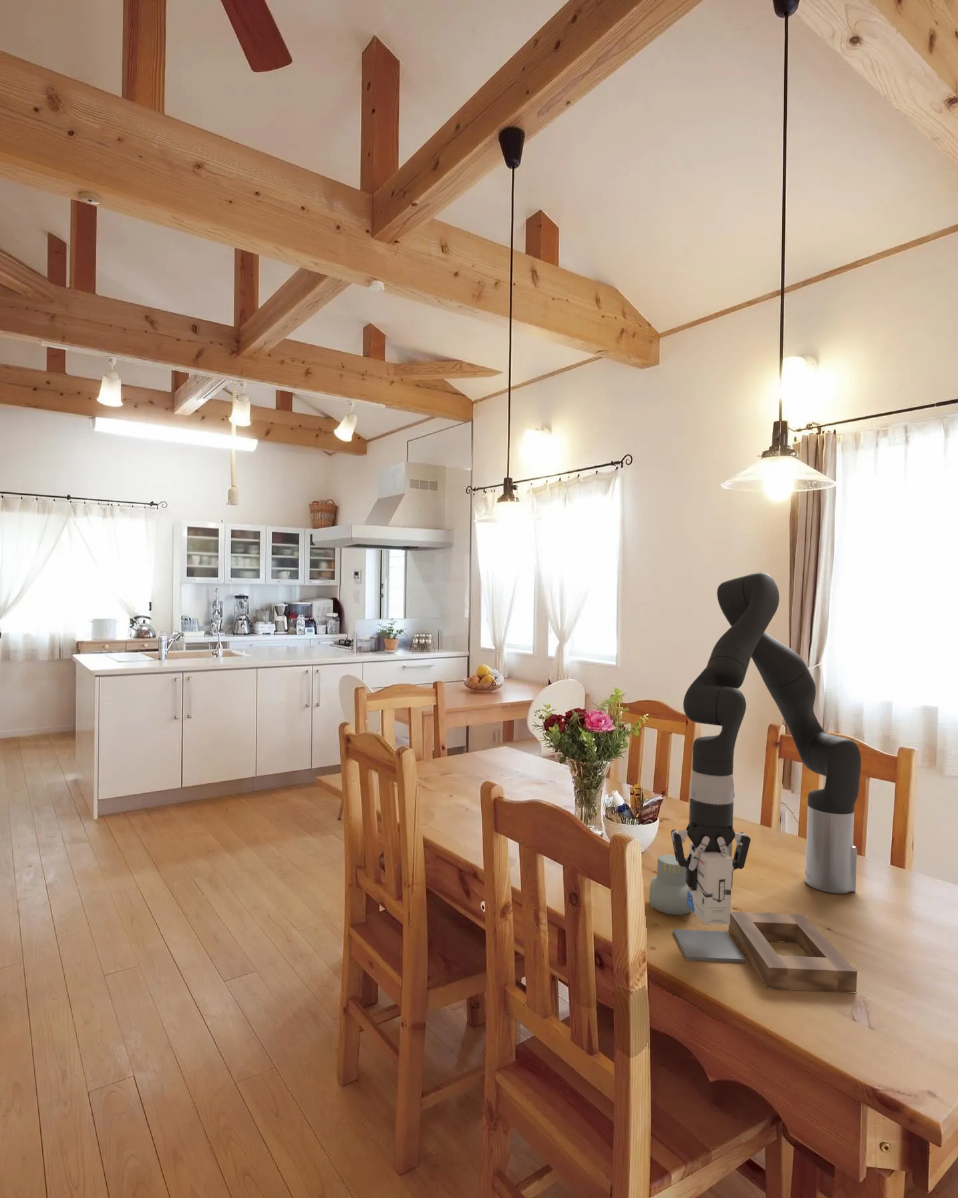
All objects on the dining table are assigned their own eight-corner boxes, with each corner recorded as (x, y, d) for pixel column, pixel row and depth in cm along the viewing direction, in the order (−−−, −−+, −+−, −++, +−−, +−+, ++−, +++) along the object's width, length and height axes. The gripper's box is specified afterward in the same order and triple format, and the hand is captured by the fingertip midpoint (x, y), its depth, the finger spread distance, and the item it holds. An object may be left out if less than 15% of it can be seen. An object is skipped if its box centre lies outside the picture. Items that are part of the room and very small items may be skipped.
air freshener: (692, 924, 136) (694, 872, 135) (648, 917, 138) (649, 866, 138) (692, 901, 146) (694, 853, 146) (651, 895, 148) (653, 847, 148)
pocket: (803, 932, 133) (804, 914, 133) (856, 993, 113) (857, 971, 113) (728, 929, 134) (729, 911, 134) (768, 989, 114) (768, 967, 114)
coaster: (726, 934, 132) (726, 931, 132) (745, 962, 122) (745, 959, 122) (673, 932, 132) (673, 929, 132) (686, 960, 122) (686, 956, 122)
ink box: (685, 903, 131) (687, 840, 131) (711, 903, 131) (713, 840, 131) (704, 925, 122) (706, 858, 122) (731, 925, 123) (733, 858, 123)
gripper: (744, 791, 130) (741, 883, 130) (666, 788, 131) (663, 879, 131) (759, 804, 123) (756, 900, 123) (676, 800, 123) (673, 897, 123)
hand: (708, 889), depth 127 cm, fingers closed on ink box, 5 cm apart
